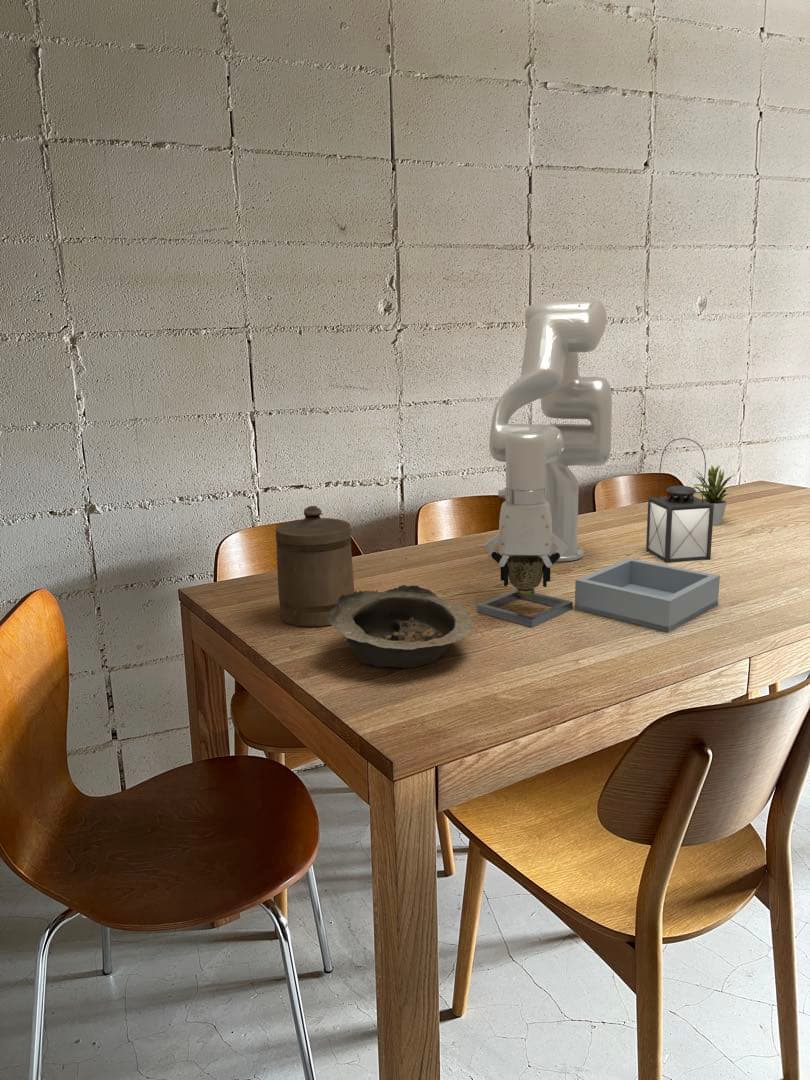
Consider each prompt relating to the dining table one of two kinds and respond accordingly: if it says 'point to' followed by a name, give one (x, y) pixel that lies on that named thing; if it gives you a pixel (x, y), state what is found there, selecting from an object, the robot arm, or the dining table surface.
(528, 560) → the dark bronze rounded piece
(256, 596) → the dining table surface
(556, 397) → the robot arm
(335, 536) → the wooden container
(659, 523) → the lantern
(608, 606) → the bin
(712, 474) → the house plant
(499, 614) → the square metal frame
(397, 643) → the stone bowl
